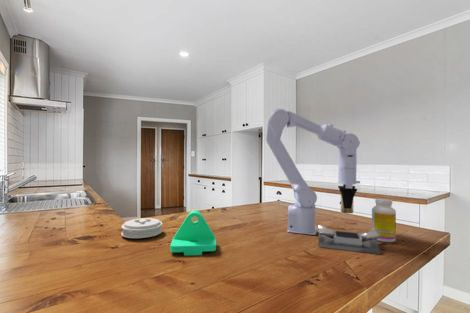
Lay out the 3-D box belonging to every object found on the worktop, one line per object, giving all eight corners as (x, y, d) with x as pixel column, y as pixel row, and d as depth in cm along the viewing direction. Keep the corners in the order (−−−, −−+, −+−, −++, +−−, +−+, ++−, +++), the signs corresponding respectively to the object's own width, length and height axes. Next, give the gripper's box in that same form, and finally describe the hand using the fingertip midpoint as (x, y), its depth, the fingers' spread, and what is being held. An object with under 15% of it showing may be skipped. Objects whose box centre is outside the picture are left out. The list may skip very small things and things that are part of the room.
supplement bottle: (399, 243, 77) (399, 201, 77) (375, 242, 79) (376, 200, 79) (390, 237, 84) (390, 198, 84) (368, 235, 85) (369, 197, 85)
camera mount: (169, 256, 66) (170, 216, 66) (173, 246, 73) (174, 210, 73) (216, 255, 67) (216, 216, 67) (215, 245, 74) (215, 210, 75)
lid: (123, 231, 88) (123, 216, 88) (161, 228, 92) (161, 214, 92) (118, 243, 76) (119, 226, 76) (162, 239, 79) (163, 223, 80)
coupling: (340, 212, 87) (341, 192, 87) (340, 210, 91) (340, 190, 91) (354, 213, 86) (354, 193, 86) (352, 211, 90) (353, 191, 90)
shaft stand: (315, 246, 74) (315, 228, 74) (316, 236, 83) (316, 220, 83) (383, 254, 68) (383, 234, 68) (376, 243, 77) (376, 225, 77)
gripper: (363, 169, 80) (362, 212, 80) (357, 167, 94) (357, 204, 94) (339, 168, 83) (338, 210, 82) (336, 167, 96) (336, 203, 96)
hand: (346, 207), depth 88 cm, fingers closed on coupling, 4 cm apart
